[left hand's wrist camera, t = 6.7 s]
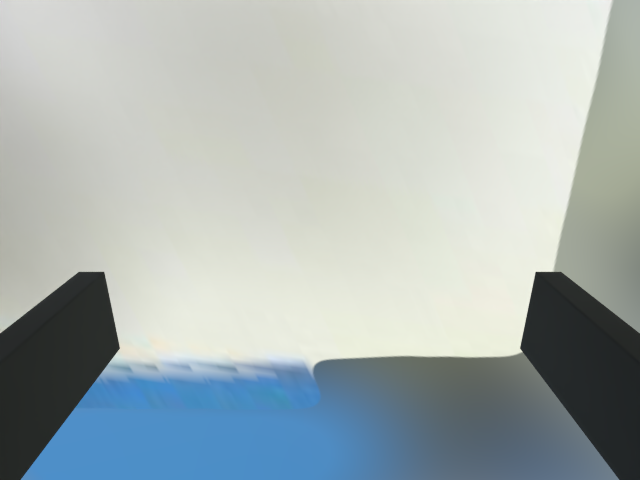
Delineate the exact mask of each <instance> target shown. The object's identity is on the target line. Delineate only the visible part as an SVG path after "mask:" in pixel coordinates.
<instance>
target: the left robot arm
mask: <svg viewBox="0 0 640 480" xmlns="http://www.w3.org/2000/svg"><path fill="white" fill-rule="evenodd" d="M119 349H120V347H119V342H118V337H117V332H116V327H115V323H114V318H113V313H112V308H111V303H110V298H109V293H108V288H107V283H106V279H105V274H104V272H78V273H77V274H76V275H75V276H73V277H72V278H71V279H69V280H68V281H67V282H66V283H64V284H63V285H62V286H60V287H59V288H58V289H57V290H55V291H54V292H53V293H52V294H50V295H49V296H48V297H46V298H45V299H44V300H43V301H41V302H40V303H39V304H37V305H36V306H35V307H34V308H32V309H31V310H30V311H29V312H27V313H26V314H25V315H23V316H22V317H21V318H20V319H18V320H17V321H16V322H14V323H13V324H12V325H11V326H9V327H8V328H7V329H6V330H4V331H3V332H2V333H0V480H21V478H22V477H23V476H24V474H25V473H26V472H27V470H28V469H29V468H30V466H31V465H32V464H33V462H34V461H35V460H36V459H37V457H38V456H39V455H40V453H41V452H42V451H43V449H44V448H45V447H46V445H47V444H48V443H49V441H50V440H51V439H52V437H53V436H54V435H55V433H56V432H57V431H58V429H59V428H60V427H61V425H62V424H63V423H64V421H65V420H66V419H67V418H68V416H69V415H70V414H71V412H72V411H73V410H74V408H75V407H76V406H77V404H78V403H79V402H80V400H81V399H82V398H83V396H84V395H85V394H86V392H87V391H88V390H89V388H90V387H91V386H92V384H93V383H94V382H95V380H96V379H97V378H98V376H99V375H100V374H101V373H102V371H103V370H104V369H105V367H106V366H107V365H108V363H109V362H110V361H111V359H112V358H113V357H114V355H115V354H116V353H117V351H118V350H119ZM520 349H521V350H522V351H523V353H524V354H525V355H526V357H527V358H528V359H529V361H530V362H531V363H532V365H533V366H534V367H535V369H536V370H537V371H538V373H539V374H540V375H541V376H542V378H543V379H544V380H545V382H546V383H547V384H548V386H549V387H550V388H551V390H552V391H553V392H554V394H555V395H556V396H557V398H558V399H559V400H560V402H561V403H562V404H563V406H564V407H565V408H566V410H567V411H568V412H569V414H570V415H571V416H572V417H573V419H574V420H575V421H576V423H577V424H578V425H579V427H580V428H581V429H582V431H583V432H584V433H585V435H586V436H587V437H588V439H589V440H590V441H591V443H592V444H593V445H594V447H595V448H596V449H597V451H598V452H599V453H600V455H601V456H602V457H603V459H604V460H605V461H606V462H607V464H608V465H609V466H610V468H611V469H612V470H613V472H614V473H615V474H616V476H617V477H618V478H619V480H640V333H638V332H637V331H636V330H634V329H633V328H632V327H631V326H629V325H628V324H627V323H625V322H624V321H623V320H622V319H620V318H619V317H618V316H617V315H615V314H614V313H613V312H611V311H610V310H609V309H608V308H606V307H605V306H604V305H603V304H601V303H600V302H599V301H597V300H596V299H595V298H594V297H592V296H591V295H590V294H588V293H587V292H586V291H585V290H583V289H582V288H581V287H580V286H578V285H577V284H576V283H574V282H573V281H572V280H571V279H569V278H568V277H567V276H565V275H564V274H563V273H562V272H536V274H535V279H534V283H533V288H532V293H531V298H530V303H529V308H528V313H527V318H526V323H525V327H524V332H523V337H522V342H521V347H520Z"/></svg>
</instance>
